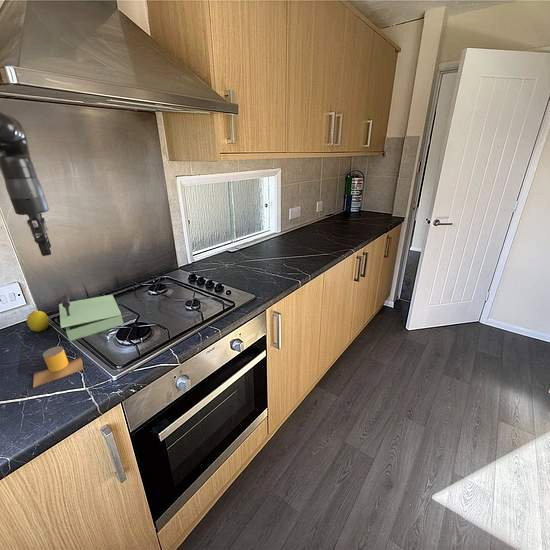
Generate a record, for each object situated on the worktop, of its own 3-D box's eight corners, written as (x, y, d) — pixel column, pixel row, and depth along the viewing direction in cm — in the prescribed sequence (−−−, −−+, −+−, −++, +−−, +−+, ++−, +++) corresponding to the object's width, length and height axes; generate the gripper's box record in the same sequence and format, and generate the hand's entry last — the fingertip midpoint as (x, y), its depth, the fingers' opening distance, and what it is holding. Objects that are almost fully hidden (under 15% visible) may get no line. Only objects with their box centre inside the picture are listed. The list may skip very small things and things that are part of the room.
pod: (48, 374, 78) (42, 359, 76) (48, 364, 82) (42, 350, 80) (69, 367, 81) (63, 352, 79) (68, 358, 84) (62, 344, 82)
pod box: (70, 343, 91) (66, 331, 90) (67, 319, 105) (63, 309, 103) (124, 326, 100) (121, 315, 98) (115, 306, 113) (112, 296, 111)
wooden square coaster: (33, 387, 74) (33, 386, 74) (35, 364, 83) (34, 363, 82) (83, 369, 80) (83, 368, 80) (80, 349, 88) (79, 348, 88)
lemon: (54, 331, 98) (46, 310, 95) (34, 338, 94) (24, 317, 91) (50, 325, 102) (42, 305, 98) (30, 332, 98) (21, 311, 95)
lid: (61, 328, 89) (57, 311, 87) (59, 305, 102) (55, 290, 100) (121, 315, 98) (118, 299, 96) (112, 296, 111) (110, 282, 109)
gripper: (12, 194, 83) (32, 248, 90) (6, 199, 73) (30, 260, 79) (44, 191, 87) (61, 243, 94) (43, 196, 77) (63, 254, 83)
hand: (47, 251), depth 86 cm, fingers open, 8 cm apart
